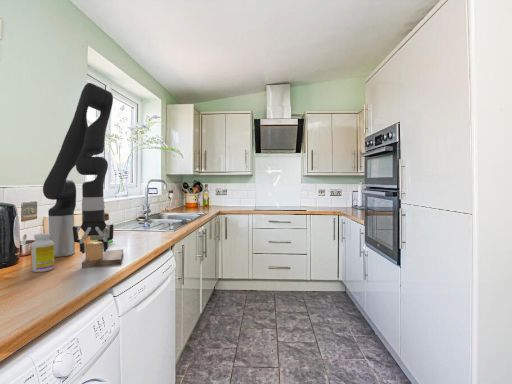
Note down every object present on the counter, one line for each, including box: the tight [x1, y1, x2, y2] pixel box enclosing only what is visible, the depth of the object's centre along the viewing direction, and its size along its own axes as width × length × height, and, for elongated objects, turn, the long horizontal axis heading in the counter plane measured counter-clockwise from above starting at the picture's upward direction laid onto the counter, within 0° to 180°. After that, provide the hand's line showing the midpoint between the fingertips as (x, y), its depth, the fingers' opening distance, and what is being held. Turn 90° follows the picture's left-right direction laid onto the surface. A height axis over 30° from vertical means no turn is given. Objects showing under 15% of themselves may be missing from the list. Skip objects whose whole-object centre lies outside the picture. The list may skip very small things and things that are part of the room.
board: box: [81, 248, 124, 269], centre depth 118 cm, size 13×18×2 cm
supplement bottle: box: [30, 232, 56, 273], centre depth 106 cm, size 7×7×13 cm
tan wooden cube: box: [84, 241, 104, 261], centre depth 113 cm, size 6×6×6 cm
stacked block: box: [89, 212, 113, 245], centre depth 154 cm, size 12×13×15 cm
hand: (94, 251), depth 113 cm, fingers open, 6 cm apart
